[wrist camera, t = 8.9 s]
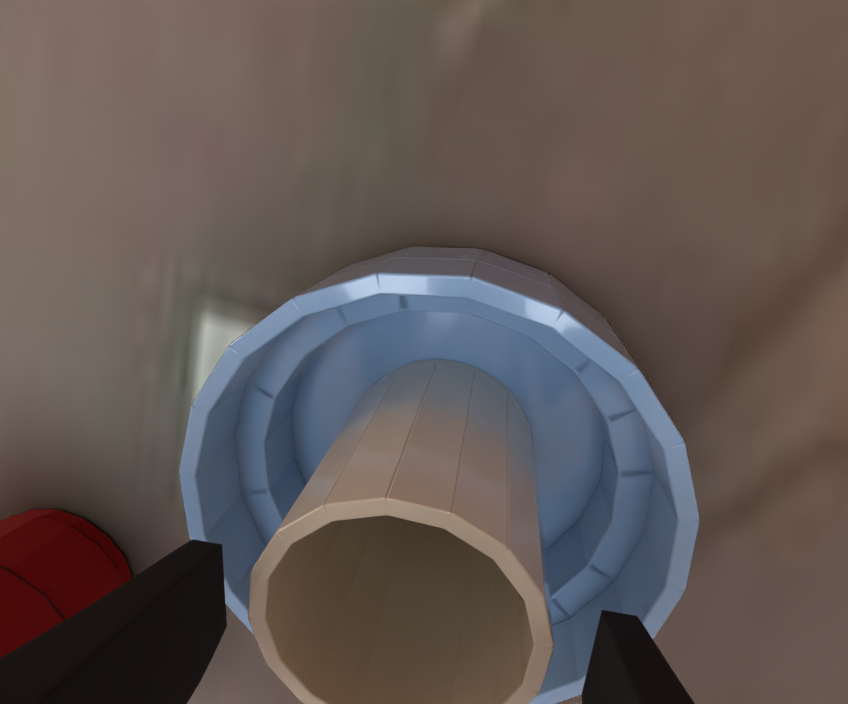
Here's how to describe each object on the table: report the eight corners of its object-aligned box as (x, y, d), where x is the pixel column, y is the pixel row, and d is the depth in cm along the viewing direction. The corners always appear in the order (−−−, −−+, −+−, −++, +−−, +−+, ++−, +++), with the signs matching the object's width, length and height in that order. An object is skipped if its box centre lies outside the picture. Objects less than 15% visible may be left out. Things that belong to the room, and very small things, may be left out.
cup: (569, 473, 16) (613, 689, 9) (420, 548, 17) (366, 776, 11) (464, 323, 15) (429, 443, 8) (317, 417, 16) (189, 581, 10)
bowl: (720, 499, 16) (797, 618, 12) (402, 640, 19) (373, 770, 15) (500, 153, 14) (498, 145, 9) (189, 382, 17) (85, 450, 13)
